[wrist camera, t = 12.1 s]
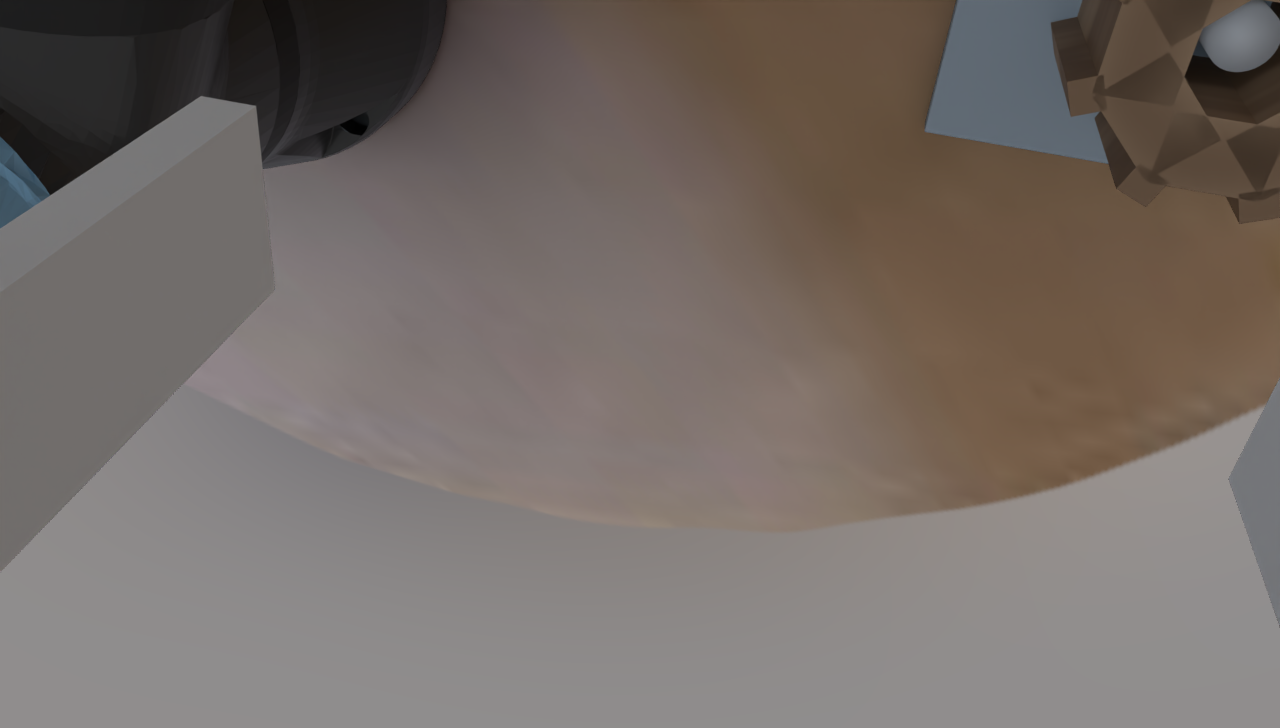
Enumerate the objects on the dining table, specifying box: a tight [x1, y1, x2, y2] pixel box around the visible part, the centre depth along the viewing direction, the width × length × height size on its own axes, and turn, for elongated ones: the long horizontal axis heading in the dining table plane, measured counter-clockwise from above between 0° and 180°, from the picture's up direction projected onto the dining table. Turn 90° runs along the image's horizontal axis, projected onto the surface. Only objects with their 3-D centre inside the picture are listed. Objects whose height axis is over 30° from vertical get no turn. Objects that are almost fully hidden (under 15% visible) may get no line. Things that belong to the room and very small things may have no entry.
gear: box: [1051, 0, 1280, 224], centre depth 34 cm, size 10×10×6 cm
